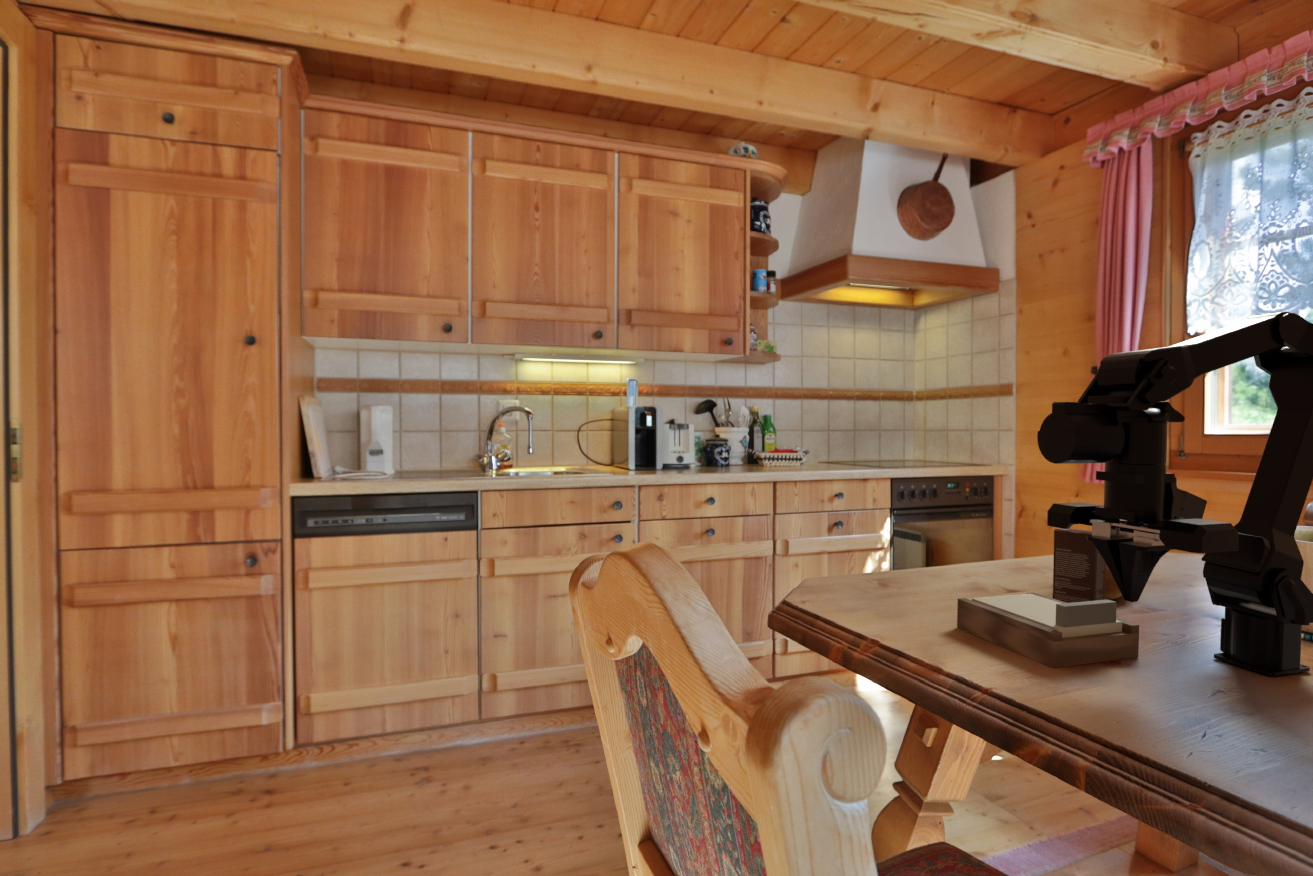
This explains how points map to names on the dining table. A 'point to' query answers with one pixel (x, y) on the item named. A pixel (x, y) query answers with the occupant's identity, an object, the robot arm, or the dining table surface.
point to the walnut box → (1046, 637)
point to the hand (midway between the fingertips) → (1131, 601)
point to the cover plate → (1059, 613)
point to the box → (1077, 567)
